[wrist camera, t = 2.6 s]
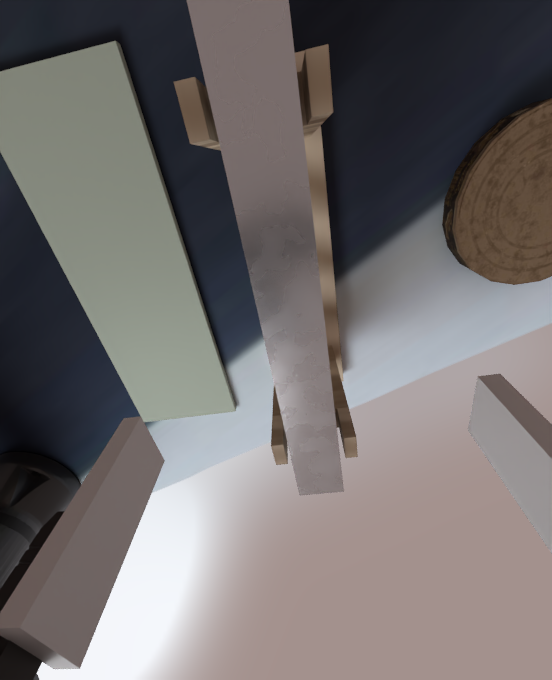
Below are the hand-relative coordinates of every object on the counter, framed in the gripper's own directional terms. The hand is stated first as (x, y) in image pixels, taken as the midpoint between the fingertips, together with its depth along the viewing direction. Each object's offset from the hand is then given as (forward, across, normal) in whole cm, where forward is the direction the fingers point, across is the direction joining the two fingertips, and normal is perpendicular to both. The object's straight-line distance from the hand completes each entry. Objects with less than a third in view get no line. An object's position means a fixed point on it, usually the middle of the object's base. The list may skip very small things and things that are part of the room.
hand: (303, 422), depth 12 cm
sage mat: (+25, +18, 0) cm, 31 cm away
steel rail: (+12, 0, 0) cm, 12 cm away
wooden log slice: (+25, -24, -2) cm, 35 cm away
